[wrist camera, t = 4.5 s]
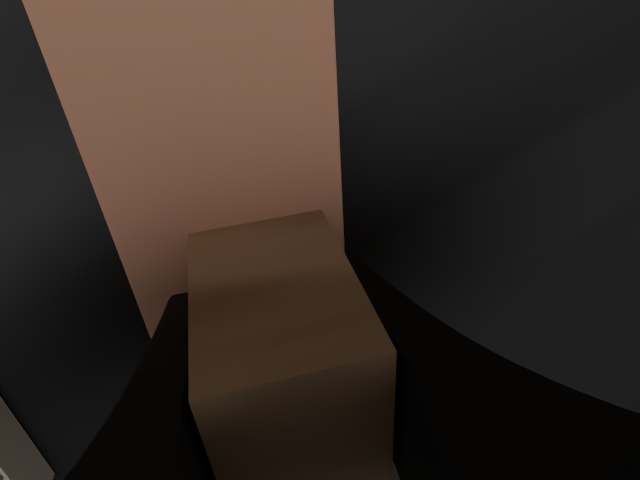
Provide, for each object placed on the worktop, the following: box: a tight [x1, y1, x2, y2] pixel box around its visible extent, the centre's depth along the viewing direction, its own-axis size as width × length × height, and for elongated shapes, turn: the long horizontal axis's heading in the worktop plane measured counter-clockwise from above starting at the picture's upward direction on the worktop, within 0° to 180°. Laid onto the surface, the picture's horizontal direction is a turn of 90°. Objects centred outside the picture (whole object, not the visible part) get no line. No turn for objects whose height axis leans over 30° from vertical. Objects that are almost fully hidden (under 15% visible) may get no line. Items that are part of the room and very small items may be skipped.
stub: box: [22, 0, 397, 480], centre depth 10 cm, size 14×5×6 cm, turn 4°
